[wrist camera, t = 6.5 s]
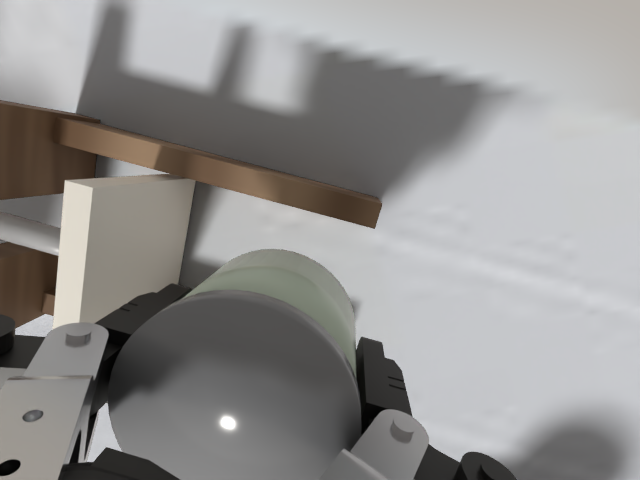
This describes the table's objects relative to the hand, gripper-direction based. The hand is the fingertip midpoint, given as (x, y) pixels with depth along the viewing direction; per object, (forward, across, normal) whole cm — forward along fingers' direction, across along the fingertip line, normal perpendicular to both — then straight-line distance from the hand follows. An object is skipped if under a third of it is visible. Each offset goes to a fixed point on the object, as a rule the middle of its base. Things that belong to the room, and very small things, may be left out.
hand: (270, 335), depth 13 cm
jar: (+1, 0, 0) cm, 1 cm away
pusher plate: (+8, +10, 0) cm, 13 cm away
